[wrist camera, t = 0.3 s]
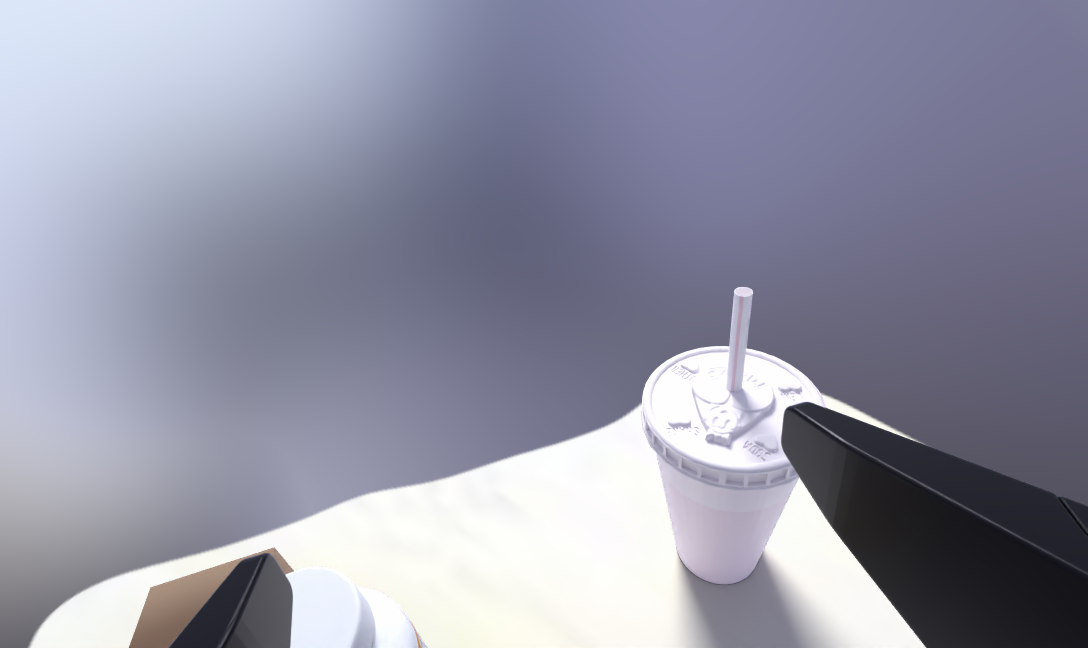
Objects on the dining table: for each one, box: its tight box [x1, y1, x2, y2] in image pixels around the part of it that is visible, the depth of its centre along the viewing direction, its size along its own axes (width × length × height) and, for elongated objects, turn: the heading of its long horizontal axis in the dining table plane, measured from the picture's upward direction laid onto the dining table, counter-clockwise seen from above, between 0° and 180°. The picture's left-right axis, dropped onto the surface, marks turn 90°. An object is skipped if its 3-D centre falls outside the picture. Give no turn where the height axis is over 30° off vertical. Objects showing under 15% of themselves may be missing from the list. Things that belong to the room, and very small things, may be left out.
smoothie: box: [641, 287, 826, 584], centre depth 20 cm, size 6×6×14 cm
